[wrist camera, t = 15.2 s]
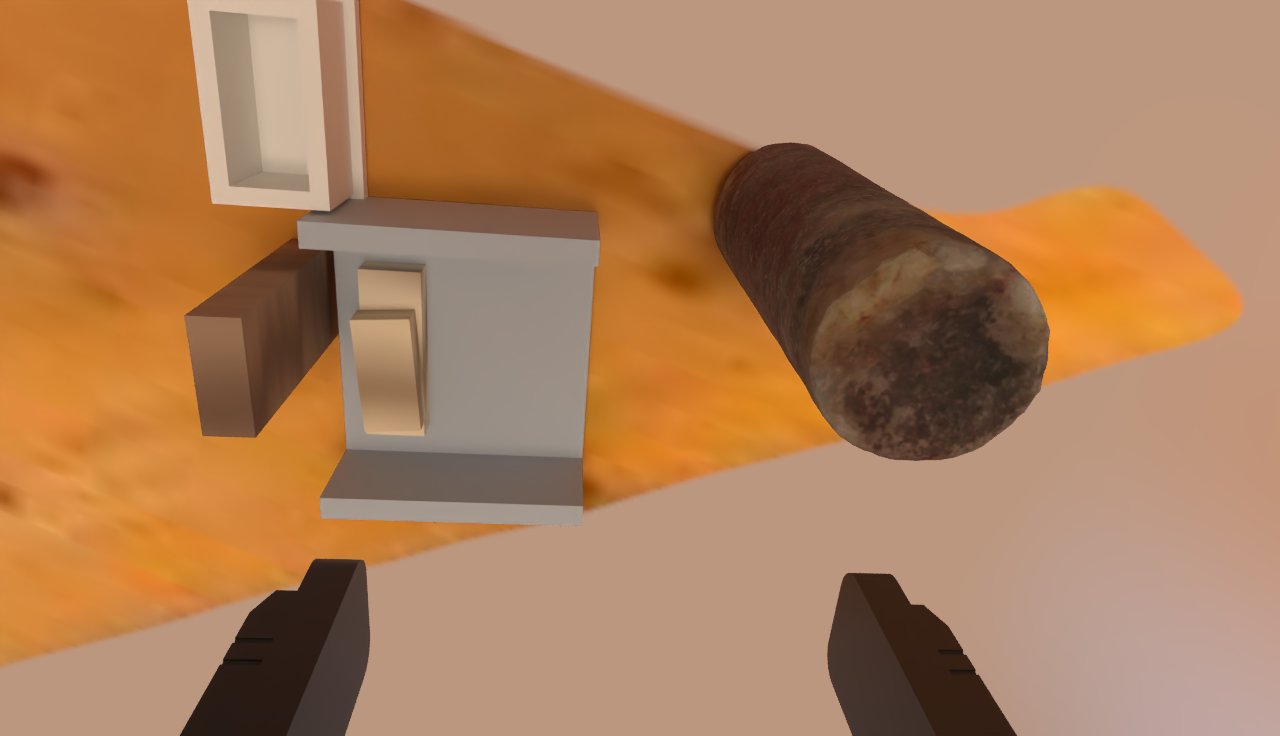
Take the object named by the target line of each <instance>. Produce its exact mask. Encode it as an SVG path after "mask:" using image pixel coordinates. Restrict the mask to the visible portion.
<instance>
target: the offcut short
mask: <svg viewBox="0 0 1280 736" xmlns="http://www.w3.org/2000/svg"><path fill="white" fill-rule="evenodd" d="M350 328H351V335H352V343H353V350H354V357H355V365H356V372H357V379H358V387H359V394H360V402H361V409H362V416H363V424H364V431H365V432H391V431H421V429H422V427H423V424H424V422H425V419H426V412H425V403H424V393H423V383H422V373H421V363H420V353H419V343H418V333H417V323H416V313H415V309H410V310H357V311H356V312H355V314H354V315H353V316H352V317H351V319H350Z"/></svg>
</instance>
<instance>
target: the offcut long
mask: <svg viewBox="0 0 1280 736" xmlns="http://www.w3.org/2000/svg"><path fill="white" fill-rule="evenodd" d="M357 270H358V288H359V307H360V310H410V309H415V313H416V323H417V333H418V343H419V353H420V363H421V373H422V383H423V393H424V403H425V412H426V419H425V422H424V424H423V427H422V429H421V431H391V432H366V434H378V435H404V436H425V433H426V431H427V428H428V426H429V385H428V336H427V286H426V264H409V263H393V262H376V261H364V262H363V264H362V265H361V266H360V267H359V268H358V269H357Z"/></svg>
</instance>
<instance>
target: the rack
mask: <svg viewBox="0 0 1280 736" xmlns="http://www.w3.org/2000/svg"><path fill="white" fill-rule="evenodd" d="M297 231H298V243H299V249H315V250H331V251H334V263H335V278H336V294H337V309H338V324H339V339H340V355H341V370H342V385H343V400H344V416H345V431H346V446H347V450H346V451H345V453H344V455H343V457H342V459H341V460H340V462H339V464H338V466H337V468H336V469H335V471H334V473H333V475H332V477H331V478H330V480H329V482H328V484H327V486H326V487H325V489H324V491H323V493H322V495H321V496H320V509H321V519H351V520H386V521H420V522H454V523H489V524H523V525H558V526H582V513H583V468H582V456H583V441H584V425H585V409H586V393H587V378H588V362H589V346H590V330H591V315H592V299H593V283H594V267H599V254H600V233H599V224H598V215H597V212H588V211H574V210H559V209H545V208H530V207H516V206H501V205H486V204H472V203H457V202H443V201H428V200H414V199H399V198H384V197H370V196H368V197H367V198H365V199H351V198H348V199H347V200H345V201H344V202H342V203H341V204H340V205H338V206H337V207H335V208H334V209H333V210H331V211H318V210H313V211H311V212H310V213H308V214H307V215H305V216H304V217H302V218H301V219H299V220H298V221H297ZM364 261H376V262H393V263H409V264H426V286H427V336H428V385H429V426H428V428H427V431H426V433H425V436H404V435H378V434H366V432H365V431H364V424H363V416H362V409H361V402H360V394H359V387H358V379H357V372H356V365H355V357H354V350H353V343H352V335H351V328H350V319H351V317H352V316H353V315H354V314H355V312H356V311H357V310H360V307H359V288H358V270H357V269H358V268H359V267H360V266H361V265H362V264H363V262H364Z"/></svg>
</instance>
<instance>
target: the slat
mask: <svg viewBox="0 0 1280 736" xmlns="http://www.w3.org/2000/svg"><path fill="white" fill-rule="evenodd" d="M185 322H186V329H187V336H188V342H189V349H190V356H191V362H192V369H193V376H194V382H195V389H196V395H197V402H198V409H199V415H200V422H201V429H202V435H203V436H220V437H250V438H256V437H257V435H258V434H259V433H260V431H261V430H262V429H263V428H264V426H265V425H266V424H267V423H268V421H269V420H270V419H271V418H272V416H273V415H274V414H275V413H276V411H277V410H278V409H279V408H280V406H281V405H282V404H283V403H284V401H285V400H286V399H287V398H288V396H289V395H290V394H291V393H292V391H293V390H294V389H295V387H296V386H297V385H298V384H299V382H300V381H301V380H302V379H303V377H304V376H305V375H306V374H307V372H308V371H309V370H310V369H311V367H312V366H313V365H314V364H315V362H316V361H317V360H318V359H319V357H320V356H321V355H322V354H323V352H324V351H325V350H326V349H327V347H328V346H329V345H330V344H331V342H332V341H333V340H334V338H335V337H336V336H337V335H338V333H339V325H338V311H337V297H336V284H335V270H334V256H333V251H331V250H315V249H299V243H298V239H291V240H289V241H288V242H287V243H285V244H284V245H282V246H281V247H280V248H278V249H277V250H275V251H274V252H273V253H271V254H270V255H268V256H267V257H266V258H264V259H263V260H261V261H260V262H259V263H257V264H256V265H254V266H253V267H252V268H250V269H249V270H247V271H246V272H245V273H243V274H242V275H240V276H239V277H238V278H236V279H235V280H233V281H232V282H231V283H229V284H228V285H227V286H225V287H224V288H222V289H221V290H220V291H218V292H217V293H215V294H214V295H213V296H211V297H210V298H208V299H207V300H206V301H204V302H203V303H201V304H200V305H199V306H197V307H196V308H194V309H193V310H192V311H190V312H189V313H187V314H186V315H185Z"/></svg>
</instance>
